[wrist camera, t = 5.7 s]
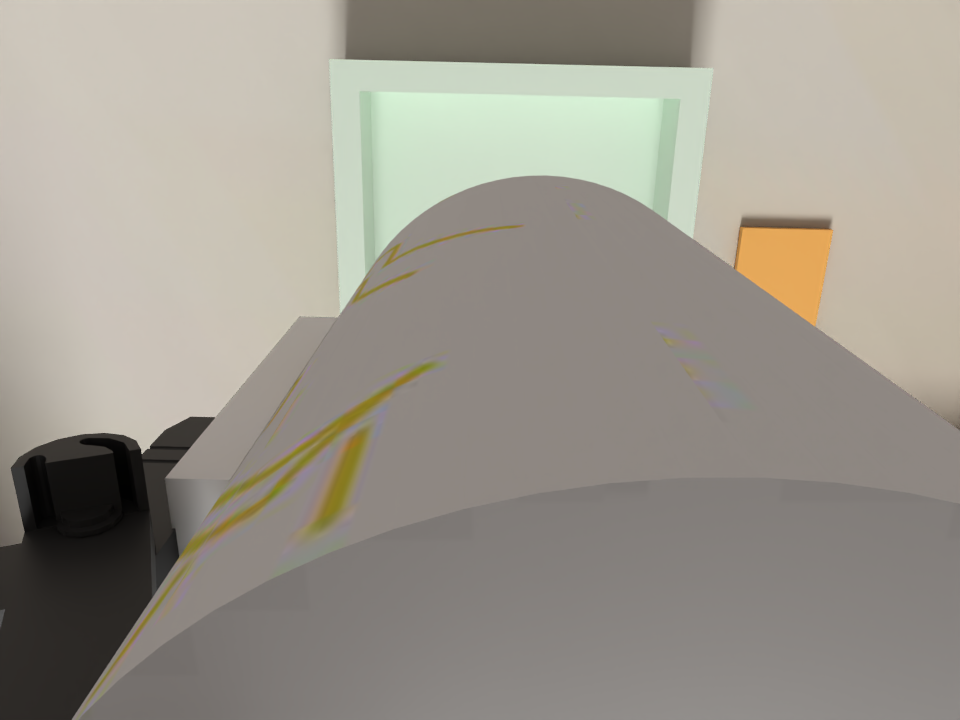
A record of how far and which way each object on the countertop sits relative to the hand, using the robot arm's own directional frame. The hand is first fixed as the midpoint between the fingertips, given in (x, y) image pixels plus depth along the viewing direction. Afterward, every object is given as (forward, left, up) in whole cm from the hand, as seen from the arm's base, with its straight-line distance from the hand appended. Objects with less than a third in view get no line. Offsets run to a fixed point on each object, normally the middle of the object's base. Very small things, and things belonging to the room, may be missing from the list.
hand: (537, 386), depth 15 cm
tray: (0, 0, -16) cm, 16 cm away
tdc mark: (+11, -1, -16) cm, 19 cm away
